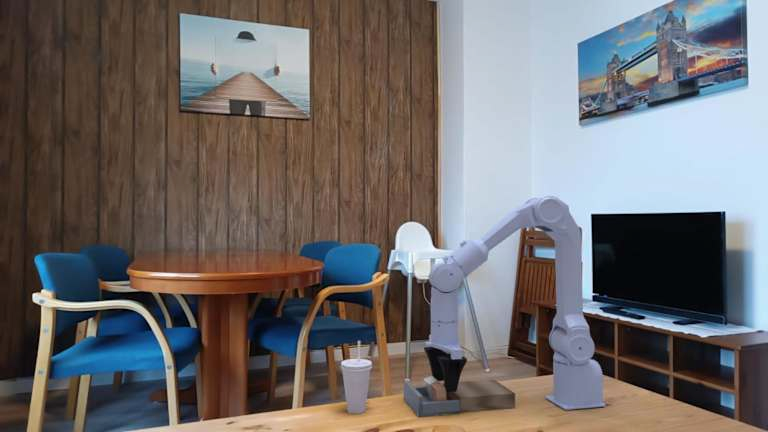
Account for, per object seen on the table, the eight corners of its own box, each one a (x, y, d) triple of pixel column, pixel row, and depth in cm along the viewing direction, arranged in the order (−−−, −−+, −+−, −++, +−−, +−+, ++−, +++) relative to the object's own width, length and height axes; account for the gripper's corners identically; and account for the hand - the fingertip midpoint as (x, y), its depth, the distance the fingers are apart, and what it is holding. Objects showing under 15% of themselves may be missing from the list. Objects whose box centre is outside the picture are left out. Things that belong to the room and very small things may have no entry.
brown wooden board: (493, 392, 117) (493, 379, 117) (515, 407, 108) (515, 393, 108) (443, 396, 115) (443, 383, 115) (460, 412, 105) (460, 397, 105)
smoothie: (368, 417, 102) (368, 345, 103) (336, 414, 104) (336, 343, 104) (375, 406, 109) (375, 338, 109) (345, 404, 110) (345, 337, 110)
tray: (441, 396, 115) (441, 377, 115) (459, 413, 104) (459, 393, 104) (403, 399, 113) (403, 380, 113) (418, 417, 102) (418, 396, 102)
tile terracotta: (439, 382, 109) (430, 383, 109) (445, 387, 105) (435, 389, 105) (441, 401, 109) (432, 402, 109) (447, 407, 105) (438, 409, 105)
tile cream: (432, 375, 113) (423, 378, 113) (437, 380, 109) (428, 384, 109) (437, 393, 114) (428, 396, 113) (443, 398, 110) (434, 402, 109)
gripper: (416, 315, 116) (416, 377, 116) (437, 327, 102) (437, 398, 102) (446, 314, 118) (446, 375, 117) (471, 326, 103) (472, 395, 103)
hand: (444, 385), depth 109 cm, fingers open, 7 cm apart
